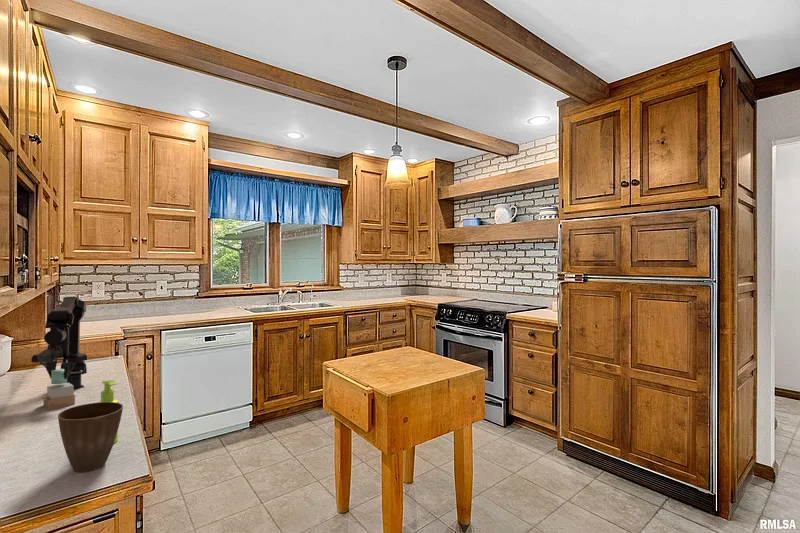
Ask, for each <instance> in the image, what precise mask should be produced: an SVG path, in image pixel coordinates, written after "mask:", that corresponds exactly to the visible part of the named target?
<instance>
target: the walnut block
mask: <svg viewBox="0 0 800 533" xmlns="http://www.w3.org/2000/svg"><path fill="white" fill-rule="evenodd" d="M75 401H76V395H75V394H74V393H73V396H67V397H62V398H57V399H51V398H49V397H48V396H47V395H44V396H43V406H44V407H46V408H47V409H49V410H54V409H58V408H62V407H64V408H65V407H68V406H72V405H75V404H76V402H75Z"/></svg>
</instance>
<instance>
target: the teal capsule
mask: <svg viewBox="0 0 800 533" xmlns="http://www.w3.org/2000/svg"><path fill="white" fill-rule="evenodd" d="M50 380H51V381H50V383H51V385H57V384H63V383H66V382H67V379H65V378H64V369H61V368H58V369H56V370H53V371H52V373H51V378H50Z"/></svg>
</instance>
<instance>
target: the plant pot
mask: <svg viewBox="0 0 800 533" xmlns="http://www.w3.org/2000/svg"><path fill="white" fill-rule="evenodd" d="M123 409H124V405H123V404H122V403H120V402H118V403H116V402H100V401H98V402H92V403H84V404H80V405H76V406H72V407H69V408H66V409H64V410H63V411H60V412H59V413H58V414H57V419H58V426H59V432H60V436H61V441H62V444H63V447H64V452H65V454H66V456H67V460H68V462H69V463H70V466H71V468H72V470H73V471H74V472H77V473H87V472H91V471H95V470H99V469H100V468H102V467H103V465H104V466H105V465H106V463H107V461H108V459H109V457H110V454H111V451H112V449H113V446H114V444H115V443H114V441H115V438H116V435H117V431H119V427H120V423H121V420H122V419H121V418H122V414H123ZM117 436H118V435H117Z"/></svg>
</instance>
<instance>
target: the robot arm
mask: <svg viewBox="0 0 800 533" xmlns="http://www.w3.org/2000/svg"><path fill="white" fill-rule="evenodd" d="M86 312H87V304H86V302H85V301H84V300H81V299H79V296H65V297H63V298H62V301H61V303H60V305H59V306H58V308H54V309H53V308H52V310H50V312H48V314H47V317H46V322H45V329H49V330H48V331H47V332H46V333H45V334H44V337H43V340H44V342H45V343H46V344H47V348H46V349H44V350H43V351H41V352H39V353H37V354H32V356H31V363H38V364H39V365H41V366H43V367H44V368H45V370H46V372H47V374H48V376H49V378H50V379H51V373H52V371H53V370H57V369H56V368H57V364H58V361H62V362H61V364H60V369H64V378H65V379H67V382H66V383H70V384H72V385H73V386H74V389H79V388H84V387H85V385H83V384H82V375H85V374H87V373H88V368H87V364H86V362H85V361H87V360H88V355H87V353H85V352H84V353H80V338H81V336H80V332H81V321H82V319H83V317H84V316H85V313H86Z"/></svg>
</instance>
